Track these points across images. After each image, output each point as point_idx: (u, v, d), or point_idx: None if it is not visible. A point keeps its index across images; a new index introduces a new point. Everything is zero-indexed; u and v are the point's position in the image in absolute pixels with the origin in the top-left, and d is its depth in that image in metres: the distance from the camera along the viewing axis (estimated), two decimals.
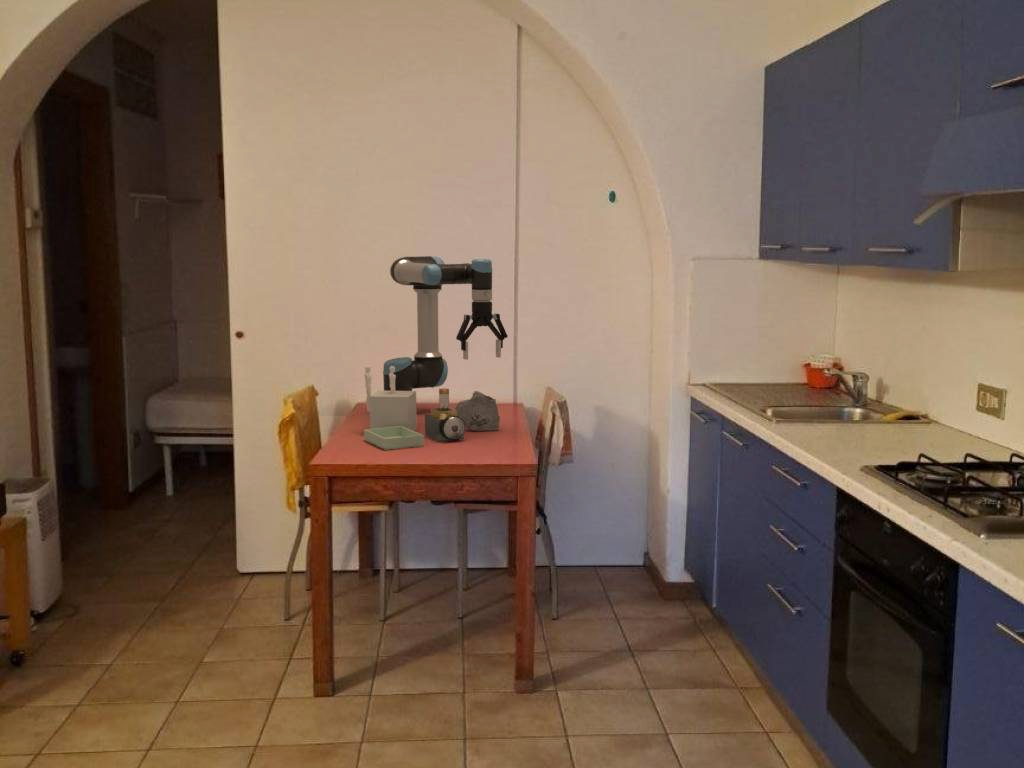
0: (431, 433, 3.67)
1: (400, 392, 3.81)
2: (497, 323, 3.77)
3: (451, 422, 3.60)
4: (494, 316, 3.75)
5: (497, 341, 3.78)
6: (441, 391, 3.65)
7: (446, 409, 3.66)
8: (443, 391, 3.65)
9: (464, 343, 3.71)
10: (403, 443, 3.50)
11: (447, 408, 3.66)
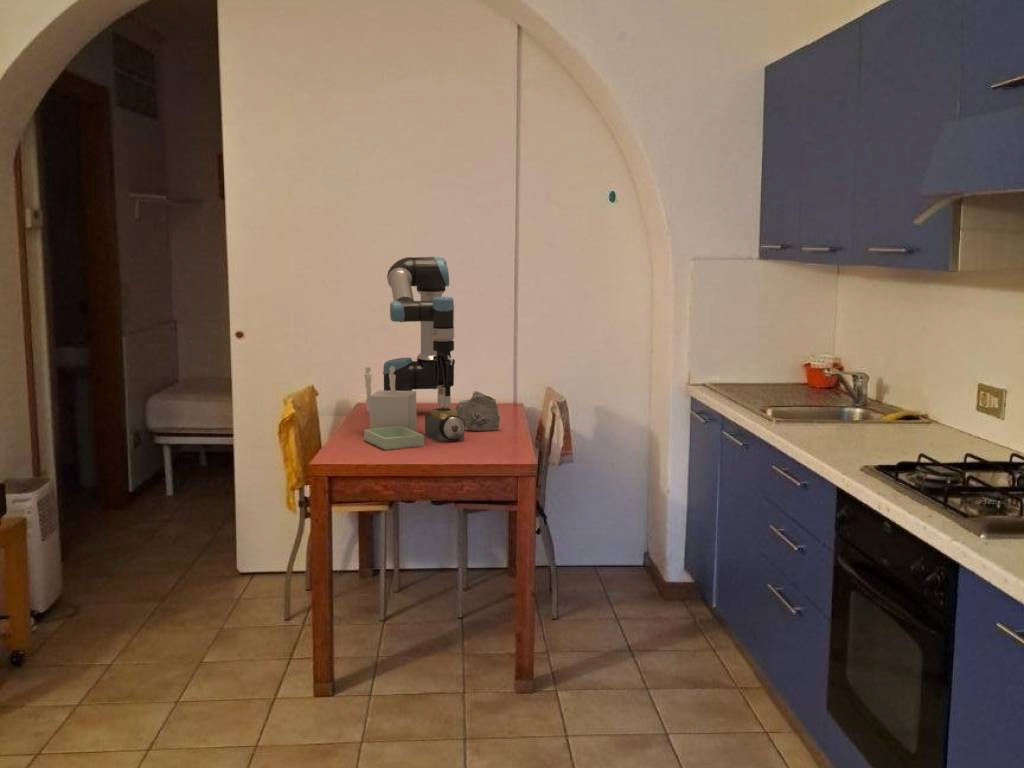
0: (431, 433, 3.67)
1: (400, 392, 3.81)
2: None
3: (451, 422, 3.60)
4: (448, 360, 3.60)
5: None
6: (441, 391, 3.65)
7: (446, 409, 3.66)
8: None
9: None
10: (403, 443, 3.50)
11: (447, 408, 3.66)
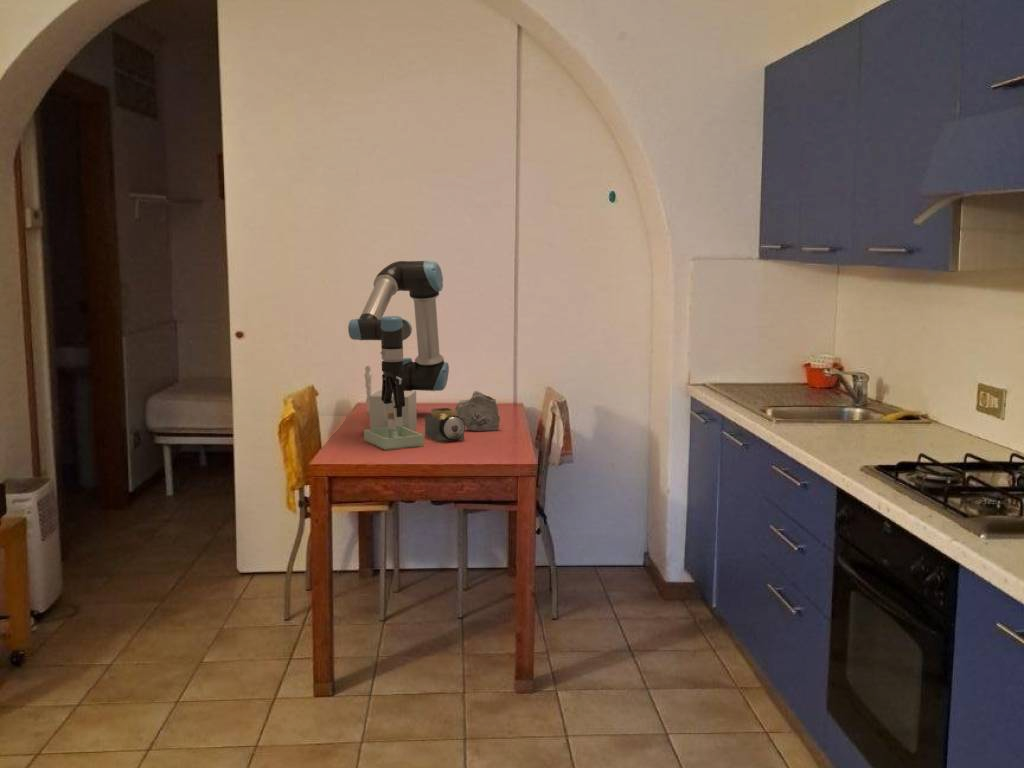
0: (431, 433, 3.67)
1: None
2: None
3: (451, 422, 3.60)
4: None
5: None
6: (390, 416, 3.56)
7: (395, 435, 3.57)
8: (392, 416, 3.56)
9: None
10: (403, 443, 3.50)
11: (396, 433, 3.58)
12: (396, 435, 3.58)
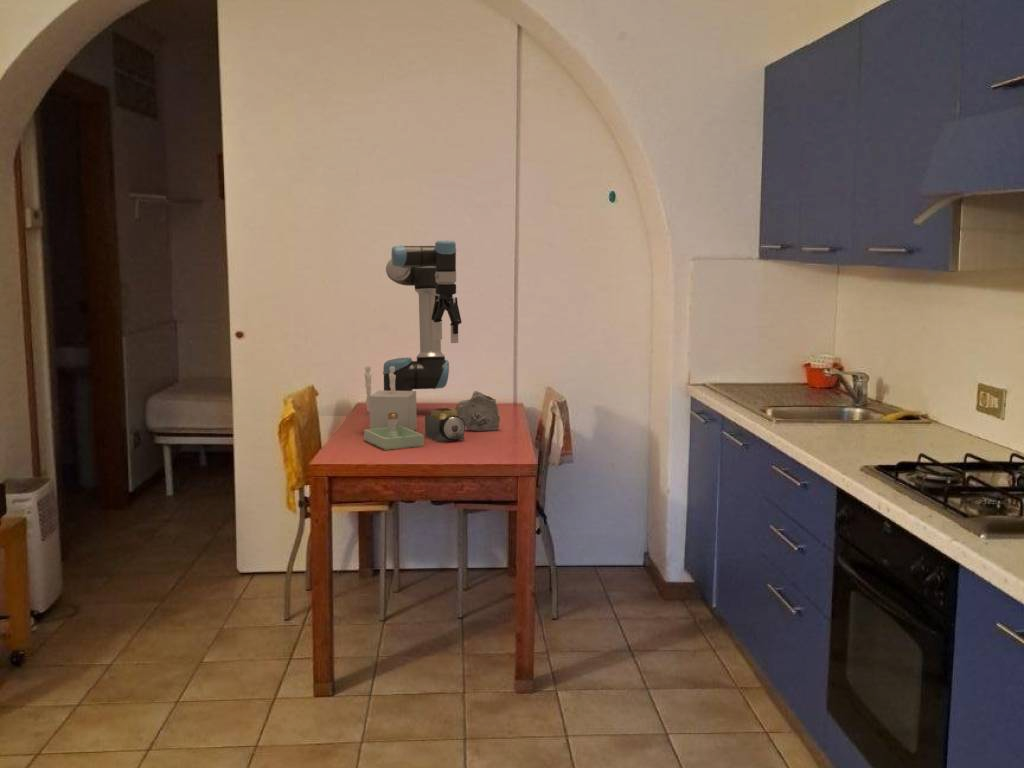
0: (431, 433, 3.67)
1: (400, 392, 3.81)
2: None
3: (451, 422, 3.60)
4: None
5: None
6: (390, 416, 3.56)
7: (395, 435, 3.57)
8: (392, 416, 3.56)
9: None
10: (403, 443, 3.50)
11: (396, 433, 3.58)
12: (396, 435, 3.58)
